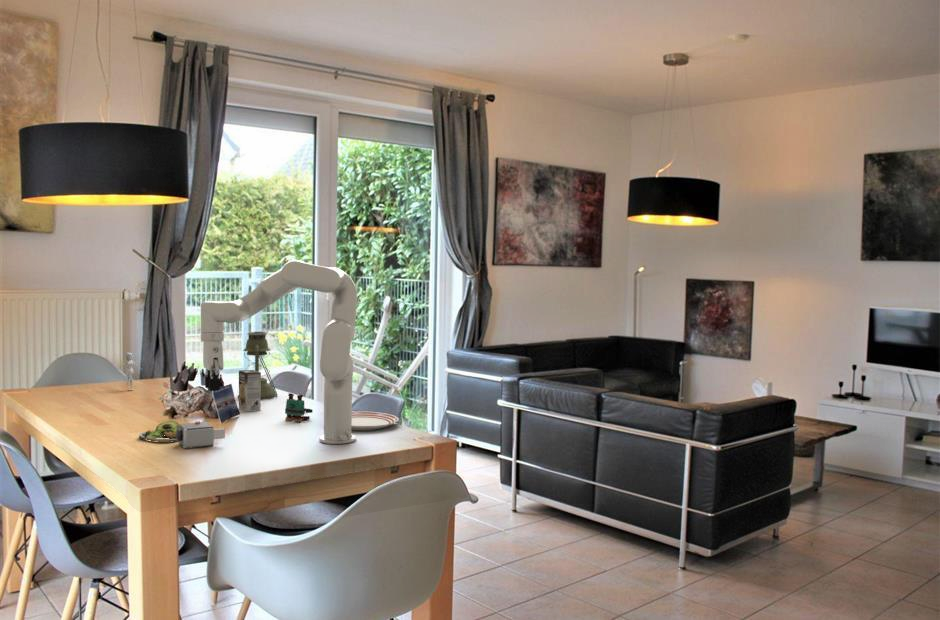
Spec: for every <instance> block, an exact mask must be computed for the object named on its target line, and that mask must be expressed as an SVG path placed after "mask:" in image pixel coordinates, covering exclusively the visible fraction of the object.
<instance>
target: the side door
mask: <svg viewBox="0 0 940 620" xmlns="http://www.w3.org/2000/svg"><path fill="white" fill-rule="evenodd" d="M225 438H226V428H224V427H223V428H214V427H213V428H206V429H195V430H187V429H184V447H183V449H185V448H186V449H188V448H187V447H193V446H203V445H213V446H214V444H215V440H220V439H221V440H222V439H225Z"/></svg>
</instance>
